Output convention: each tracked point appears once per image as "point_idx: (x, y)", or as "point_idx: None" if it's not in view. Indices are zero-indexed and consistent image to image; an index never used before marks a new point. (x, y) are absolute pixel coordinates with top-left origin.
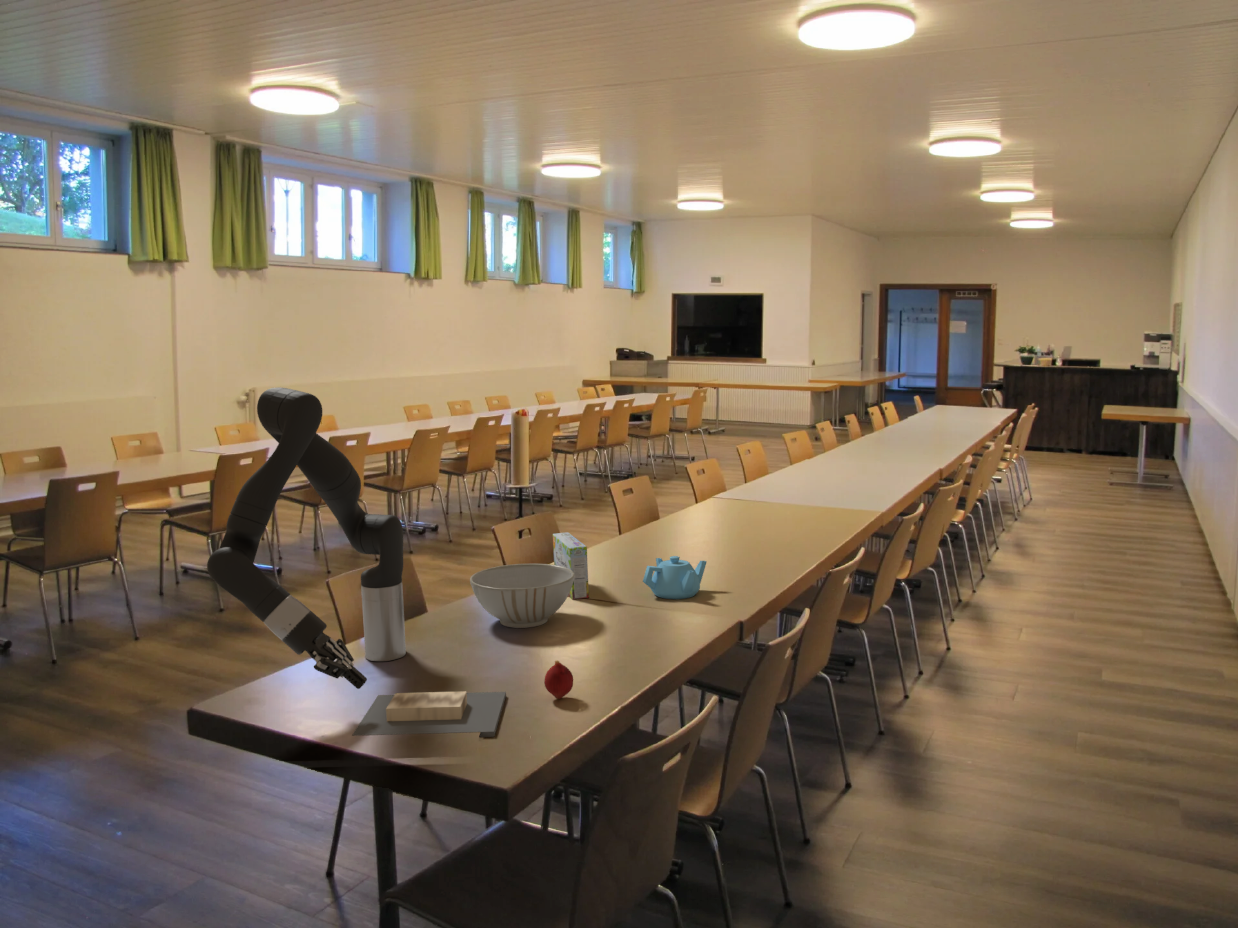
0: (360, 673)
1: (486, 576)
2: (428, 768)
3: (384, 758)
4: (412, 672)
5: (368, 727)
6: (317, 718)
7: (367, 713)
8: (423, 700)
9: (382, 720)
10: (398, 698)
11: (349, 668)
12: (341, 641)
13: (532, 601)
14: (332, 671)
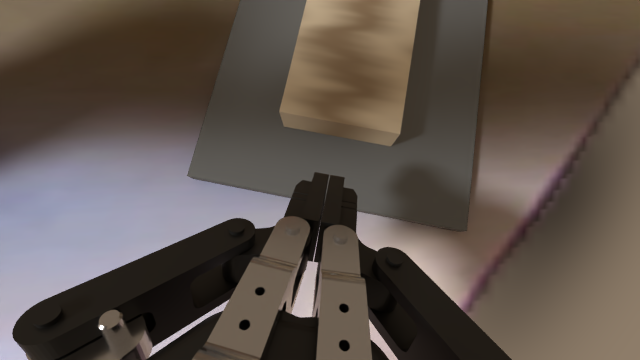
0: (315, 191)
1: None
2: (631, 63)
3: (574, 151)
4: (16, 97)
5: (421, 190)
6: None
7: None
8: (359, 40)
9: (380, 157)
10: (326, 102)
11: (355, 234)
12: (62, 311)
13: None
14: (392, 328)
